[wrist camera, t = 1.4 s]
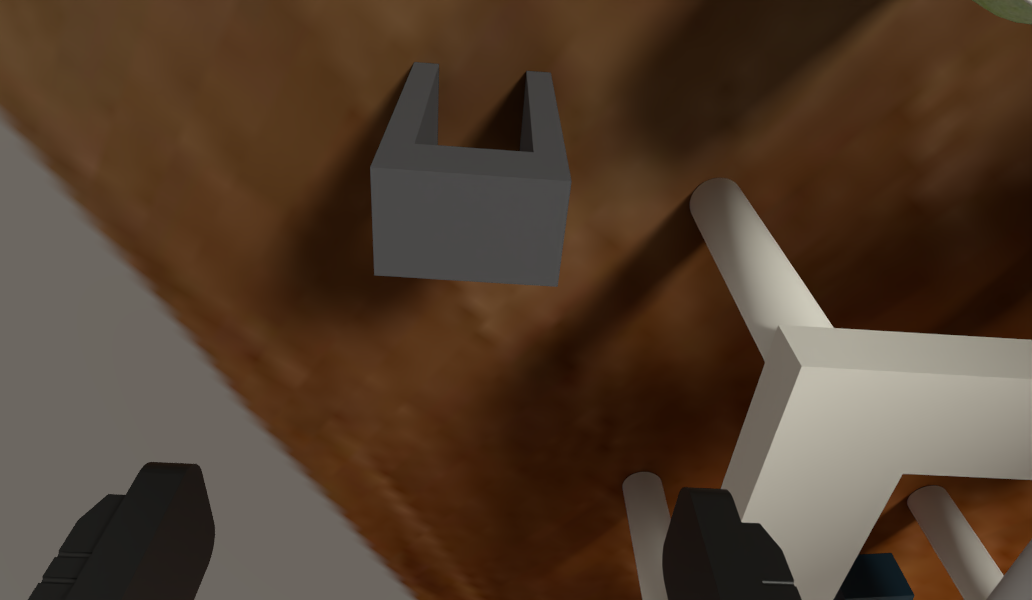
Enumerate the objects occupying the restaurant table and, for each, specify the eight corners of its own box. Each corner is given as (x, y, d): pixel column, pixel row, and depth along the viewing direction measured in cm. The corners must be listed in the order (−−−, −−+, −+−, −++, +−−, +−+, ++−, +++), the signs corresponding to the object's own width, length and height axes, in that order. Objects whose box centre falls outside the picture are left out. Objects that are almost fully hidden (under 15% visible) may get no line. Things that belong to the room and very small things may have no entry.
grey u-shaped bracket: (550, 72, 29) (571, 181, 19) (542, 153, 31) (557, 286, 21) (414, 62, 28) (370, 167, 19) (414, 144, 30) (374, 275, 21)
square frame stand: (1136, 200, 32) (1583, 455, 19) (940, 515, 44) (1128, 807, 31) (690, 169, 31) (829, 415, 18) (613, 501, 43) (661, 796, 30)
